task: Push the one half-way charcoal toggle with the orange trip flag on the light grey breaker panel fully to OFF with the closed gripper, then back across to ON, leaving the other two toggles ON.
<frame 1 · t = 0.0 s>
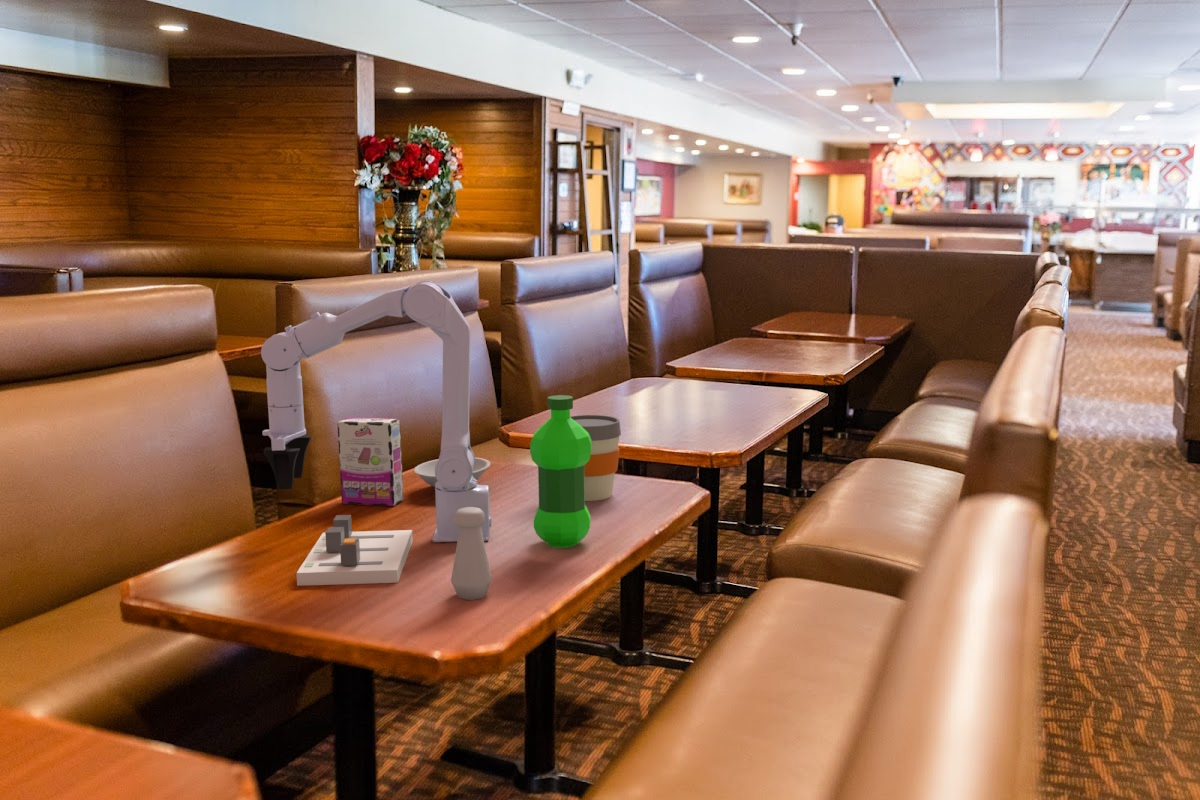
hand: (290, 483, 183), 10 cm above the table, fingers open, 7 cm apart
candy bar box: (372, 503, 209), on the table
reusable coffee cup: (589, 495, 213), on the table
middle breaker: (335, 539, 172), point 4 cm above the table, slide at 7.0 cm
plastic bottle: (562, 544, 181), on the table
far breaker: (342, 526, 178), point 4 cm above the table, slide at 7.0 cm
tripped breaker: (350, 551, 165), point 4 cm above the table, slide at 3.5 cm
breaker panel: (358, 562, 172), on the table
dish: (453, 491, 217), on the table
salt shaker: (471, 596, 157), on the table
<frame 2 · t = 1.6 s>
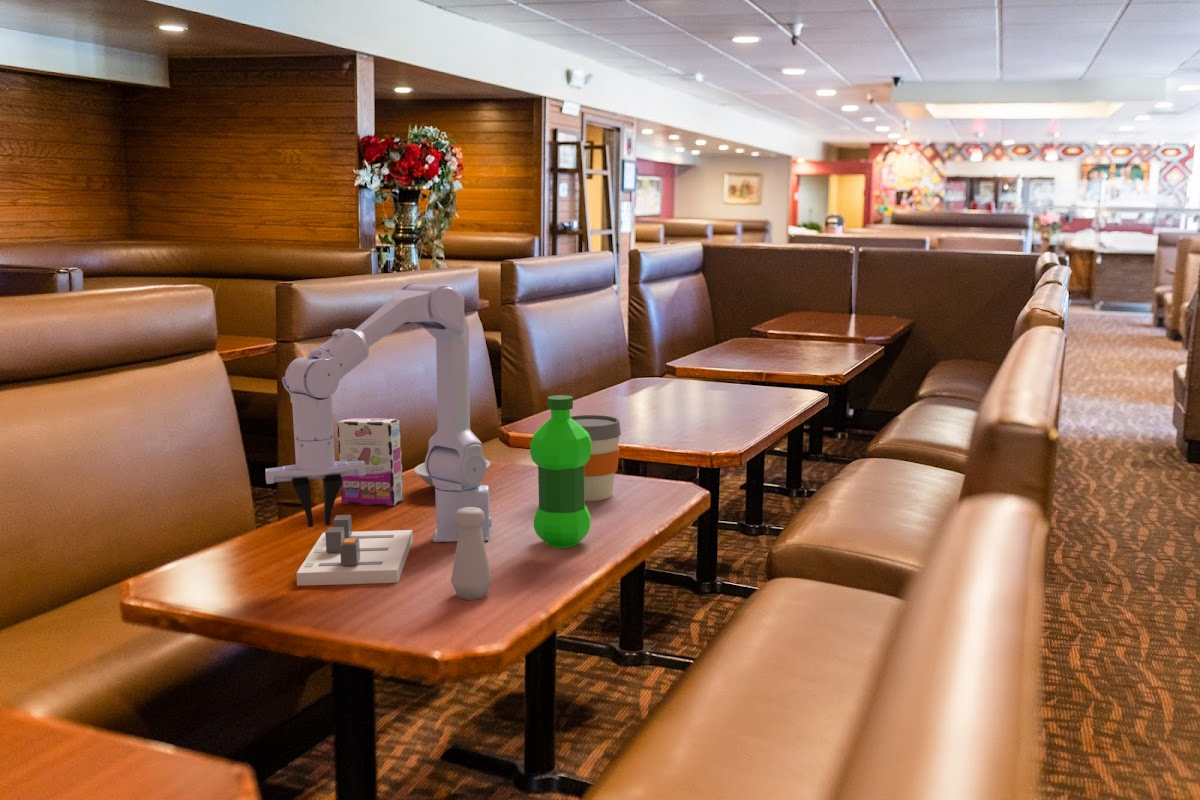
hand: (318, 524, 164), 8 cm above the table, fingers closed
nothing on the table moved.
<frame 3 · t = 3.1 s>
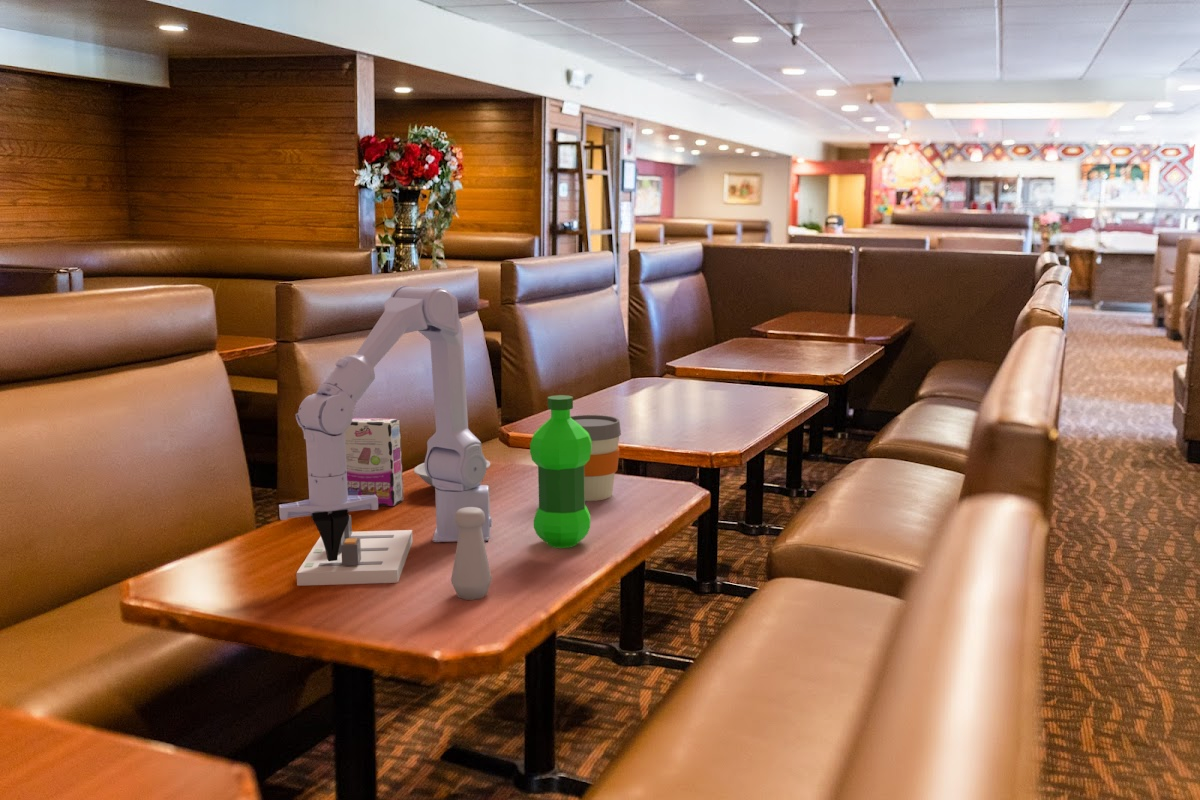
hand: (332, 559, 165), 3 cm above the table, fingers closed
tripped breaker: (351, 551, 165), point 4 cm above the table, slide at 3.3 cm, touching gripper
everything else where it was.
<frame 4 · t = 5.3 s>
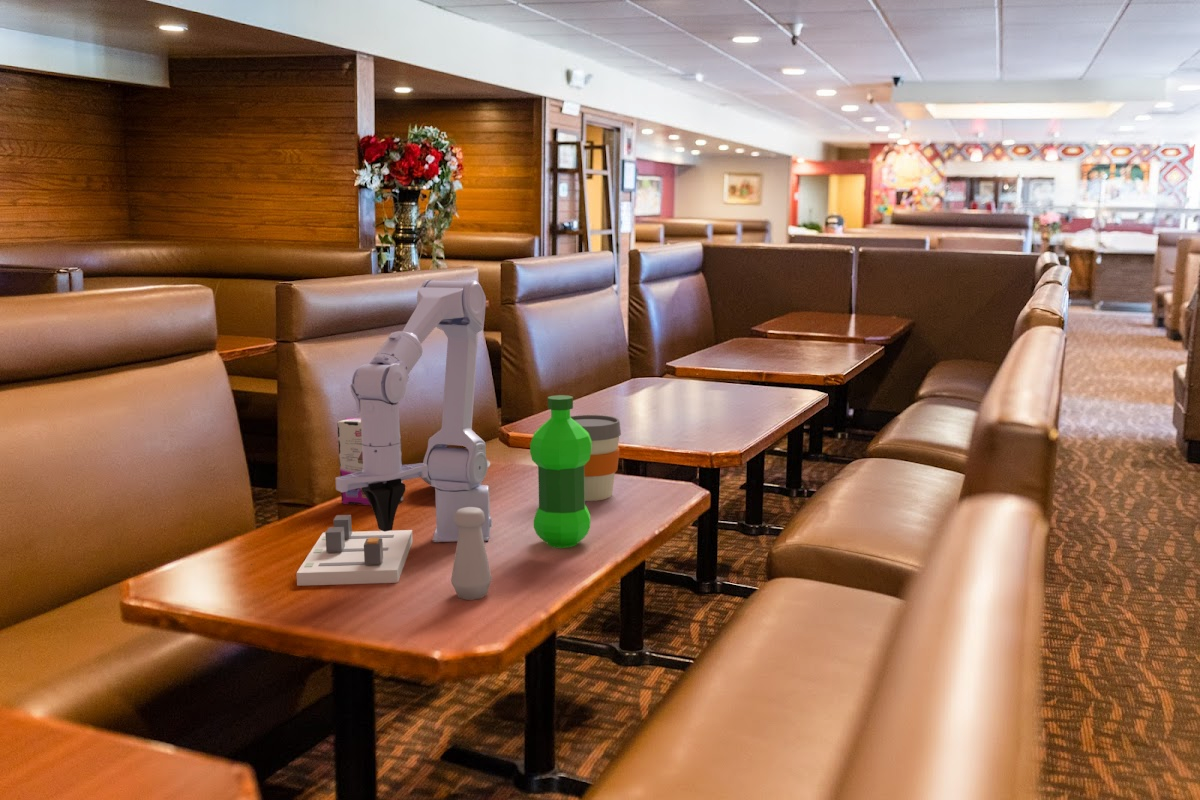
hand: (385, 529, 165), 7 cm above the table, fingers closed
tripped breaker: (373, 550, 165), point 4 cm above the table, slide at -0.1 cm
everything else where it was.
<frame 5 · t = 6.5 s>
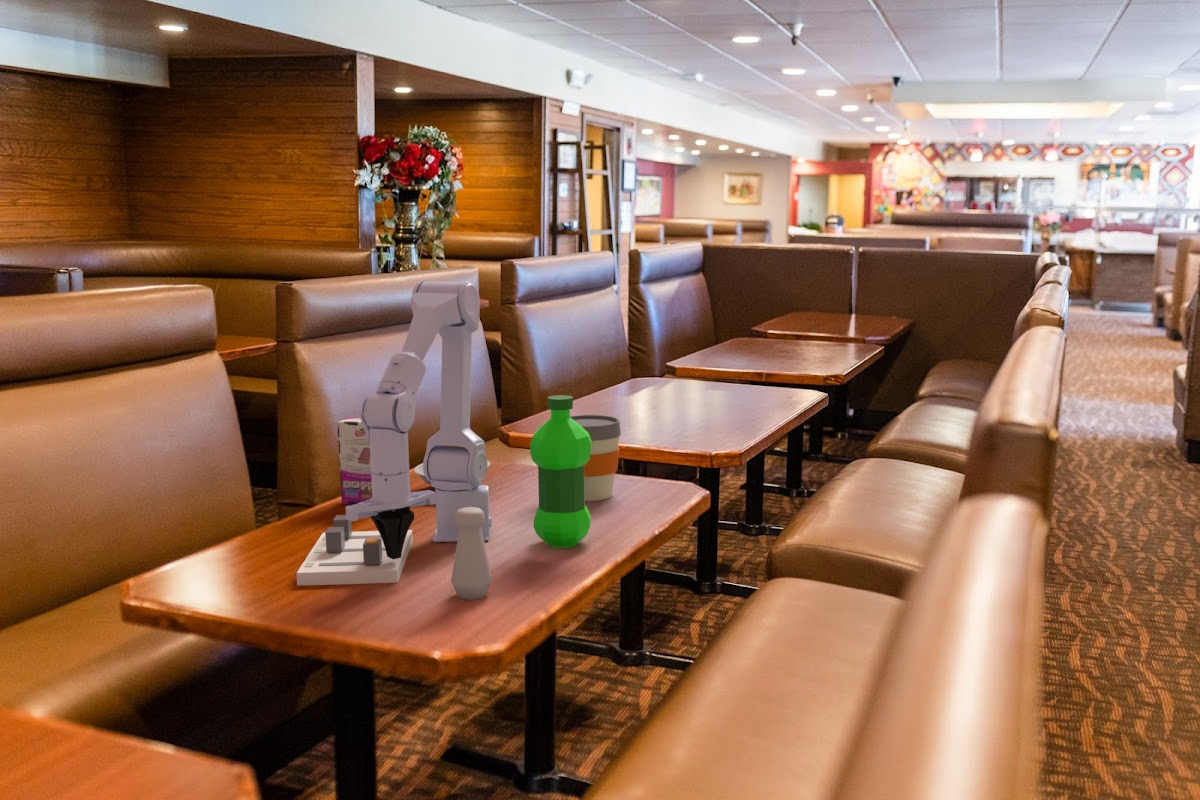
hand: (394, 557, 165), 3 cm above the table, fingers closed
tripped breaker: (372, 550, 165), point 4 cm above the table, slide at 0.1 cm, touching gripper
everything else where it was.
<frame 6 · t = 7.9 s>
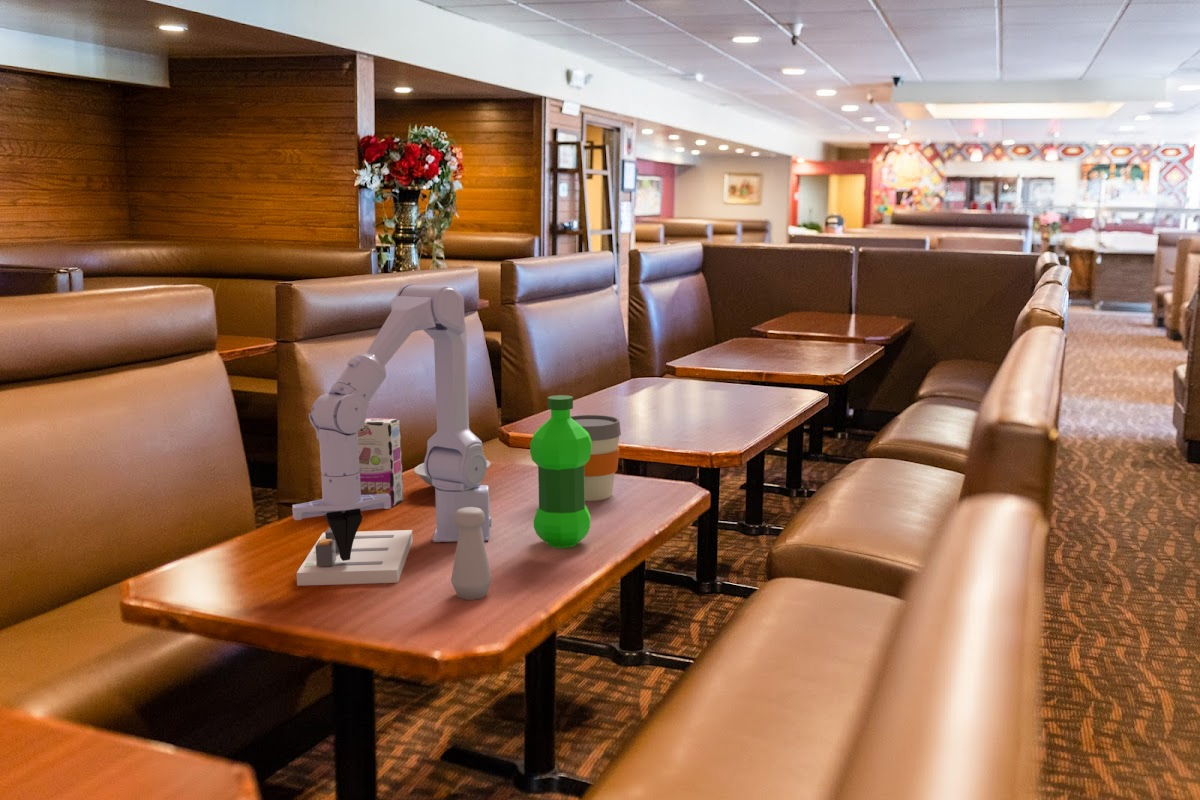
hand: (345, 558, 165), 3 cm above the table, fingers closed
tripped breaker: (325, 551, 165), point 4 cm above the table, slide at 7.2 cm, touching gripper
everything else where it was.
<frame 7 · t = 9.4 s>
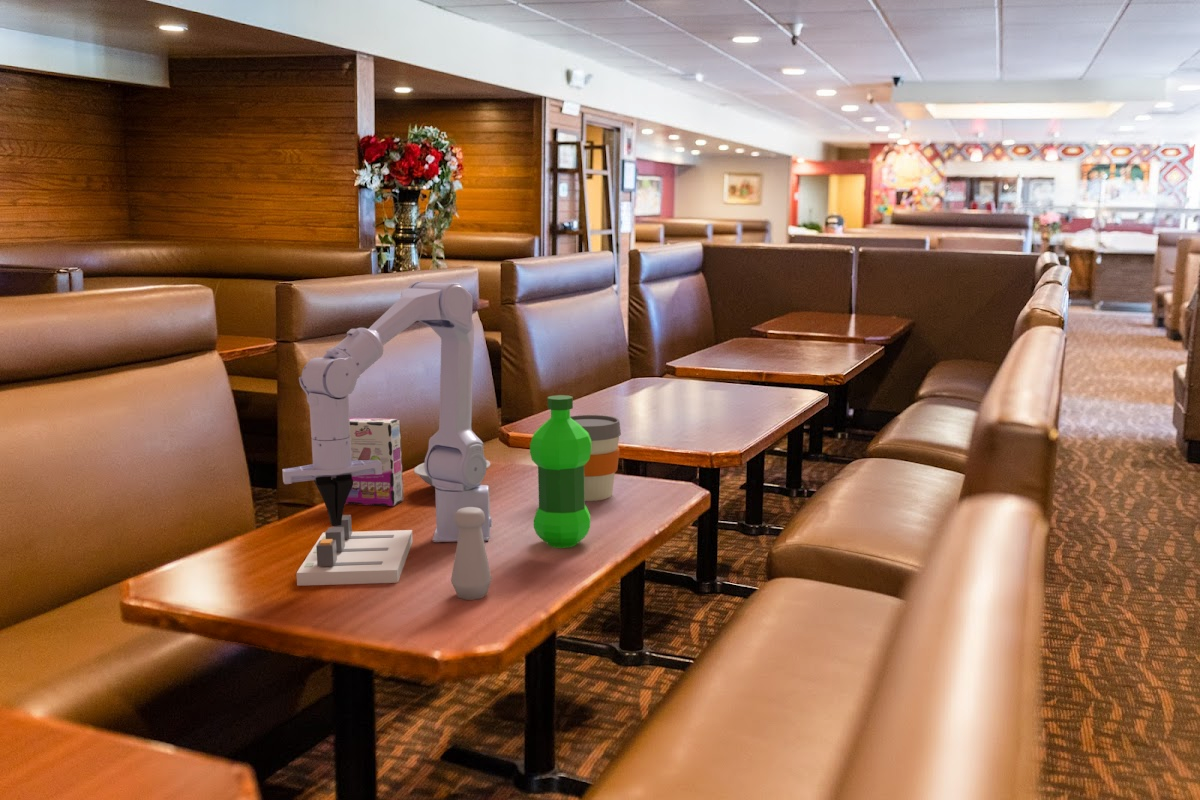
hand: (335, 524, 164), 8 cm above the table, fingers closed
tripped breaker: (326, 551, 165), point 4 cm above the table, slide at 7.1 cm
everything else where it was.
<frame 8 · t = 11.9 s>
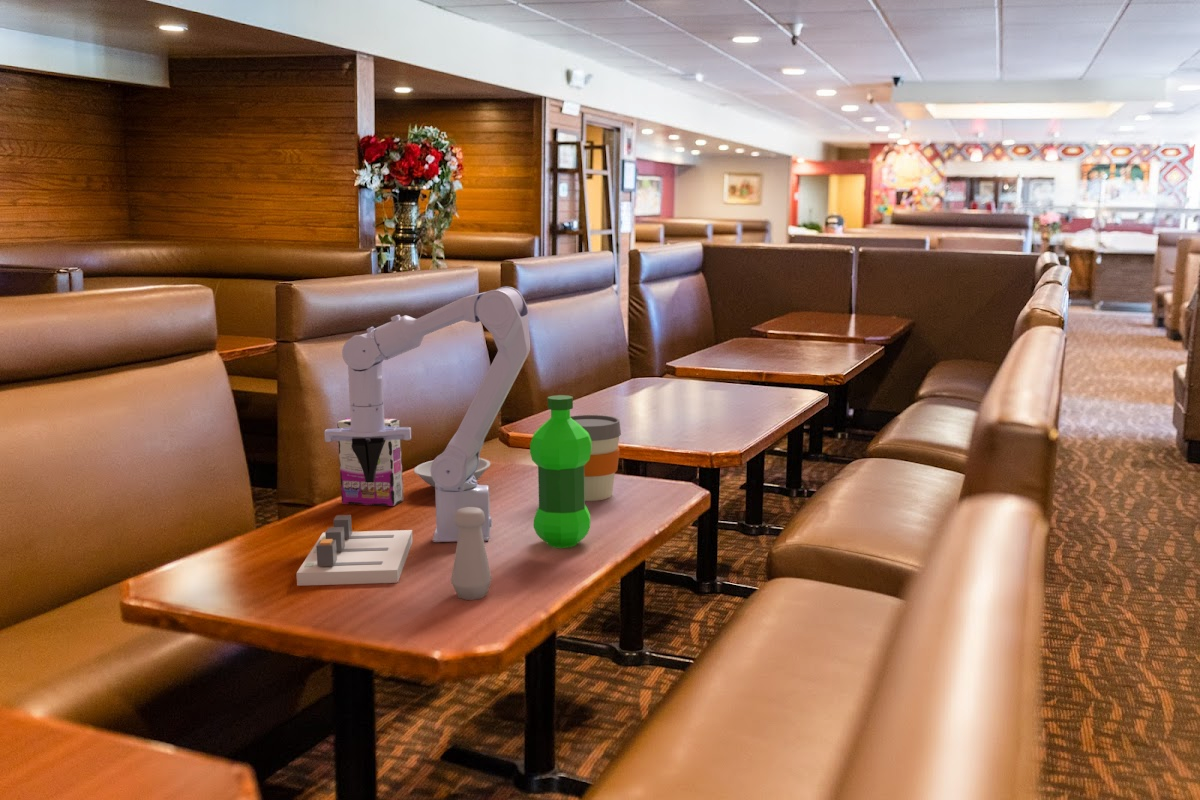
hand: (370, 481, 187), 9 cm above the table, fingers closed
nothing on the table moved.
at the end: tripped breaker slide at 7.1 cm; middle breaker slide at 7.0 cm; far breaker slide at 7.0 cm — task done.
